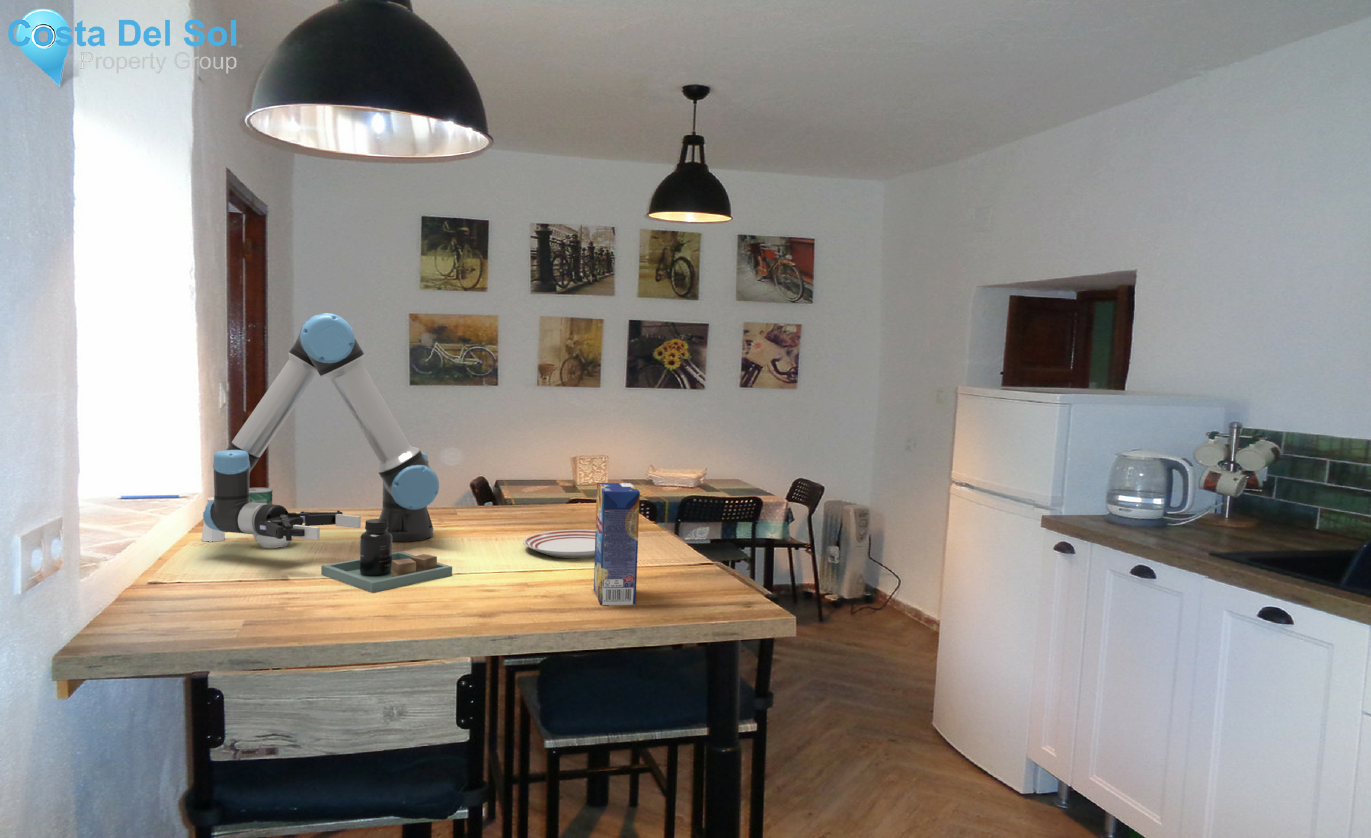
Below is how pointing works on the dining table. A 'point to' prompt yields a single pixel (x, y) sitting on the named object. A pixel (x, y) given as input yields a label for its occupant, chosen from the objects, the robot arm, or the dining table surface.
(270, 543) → the lidded jar
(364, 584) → the tray
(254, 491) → the canned tomato
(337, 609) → the dining table surface
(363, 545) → the supplement bottle
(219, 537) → the pepper shaker
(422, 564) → the walnut block
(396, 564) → the walnut block
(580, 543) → the dinner plate
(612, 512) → the juice carton
